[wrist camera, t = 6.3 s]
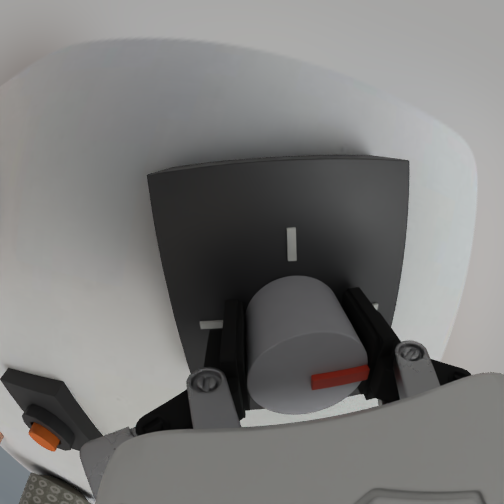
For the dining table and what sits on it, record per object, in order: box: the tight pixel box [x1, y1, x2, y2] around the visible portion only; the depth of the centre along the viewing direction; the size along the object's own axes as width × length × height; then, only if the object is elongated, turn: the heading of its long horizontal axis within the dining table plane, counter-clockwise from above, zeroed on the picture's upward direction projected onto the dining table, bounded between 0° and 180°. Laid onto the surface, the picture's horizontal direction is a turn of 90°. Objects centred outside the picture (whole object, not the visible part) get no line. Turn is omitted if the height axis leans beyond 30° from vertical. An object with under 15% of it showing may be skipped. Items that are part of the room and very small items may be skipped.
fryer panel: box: [147, 155, 409, 410], centre depth 14 cm, size 14×11×4 cm
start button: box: [29, 422, 60, 451], centre depth 18 cm, size 4×4×2 cm
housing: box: [0, 368, 102, 451], centre depth 20 cm, size 12×10×4 cm
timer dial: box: [245, 276, 370, 415], centre depth 11 cm, size 4×4×4 cm
